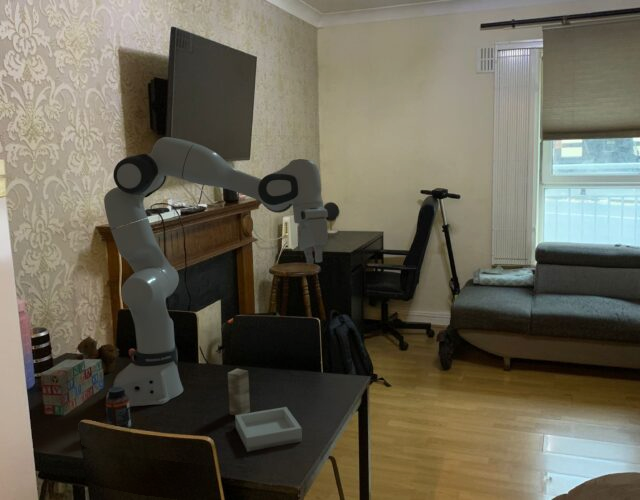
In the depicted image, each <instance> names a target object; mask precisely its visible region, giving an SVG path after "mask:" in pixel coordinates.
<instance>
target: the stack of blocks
mask: <svg viewBox="0 0 640 500" xmlns="http://www.w3.org/2000/svg"><path fill="white" fill-rule="evenodd" d="M104 380H105V379H104V374H103V369H102V360H98V359H83V360H73V359H65V360H63V361H61V362H59V363H57V364H55V365H54V366H53V367H51V368H49V369H48V370H46V371H45V370H44V371H43V372H41V374H40V381H41V382H40V383H41V385H40V386H41V394H42V401H43V410H44V415H49V416H65V415H67V414H69V413H70V412H71V411H74V409H77V407H79V406H81V404H83V403H84V402H85V401H87V400H88V399H90V398H91V397H92V396H94V395H95V394H97V393H98V392H99V391H101V390H102V389H104V388H105V381H104Z"/></svg>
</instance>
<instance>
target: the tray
mask: <svg viewBox="0 0 640 500" xmlns="http://www.w3.org/2000/svg"><path fill="white" fill-rule="evenodd" d="M234 416H235V419H234V420H235V421H234V422H235V429H236V431H237V433H238V435H239V437H240V439H241V441H242V443H243V445H244V448H245V451H246V452H252V451H257V450H262V449H267V448H272V447H278V446H284V445H289V444H294V443H295V444H296V443H301V442H303V428H302V426H301V425H300V424H299V423H298V421H297V419H296V418H295V417H294V415H293V414H292V412H291V411H290V410H289V409H288V407H287V406H283V407H278V408H272V409H264V410H260V411H259V410H258V411H254V412H249V413H246V414H240V415H234Z"/></svg>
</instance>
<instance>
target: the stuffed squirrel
mask: <svg viewBox="0 0 640 500" xmlns="http://www.w3.org/2000/svg"><path fill="white" fill-rule="evenodd" d="M75 350H76V351H75V352H76V353H77V352H79V353H80V354H81V355H76V356H75V357H74V358H73V359H72V360H83V359H98V360H102V369H103V375H106V374H108V373H110V372H112V371H113V369H115V365H116V362H115V360H116V359H117V358H118V357H119V355H120V352H119V351H120V349H119V348H118V347H116V346H115V345H112V344H109V343H106V344H103V345H100V346H99V348H98V340H95V339H93V338H92V337H91V336H87V337H86V338H84V339H83V340H81V341H80V342H79V343H78V345H77V347H76V349H75Z"/></svg>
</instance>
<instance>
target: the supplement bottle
mask: <svg viewBox="0 0 640 500" xmlns="http://www.w3.org/2000/svg"><path fill="white" fill-rule="evenodd" d="M108 392H109V396H108V398H107V399H105V411H106V420H107V421H106V422H107V425H108V424H110V425H115V426H121V427H127V428H130V429H131V428H132V417H131V406H130V403H129V397H128V395H126V394H125V390H124V387H120V386H119V387H113V386H112V387H111V388H109V389H108Z"/></svg>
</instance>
